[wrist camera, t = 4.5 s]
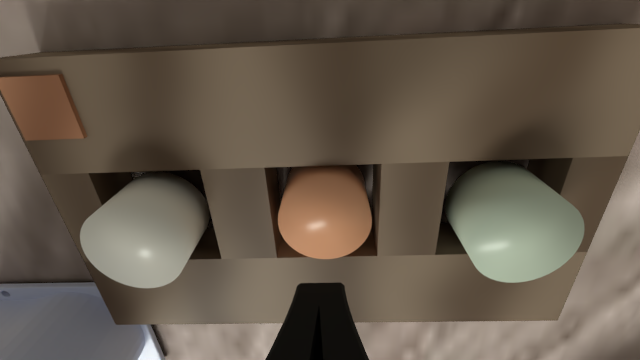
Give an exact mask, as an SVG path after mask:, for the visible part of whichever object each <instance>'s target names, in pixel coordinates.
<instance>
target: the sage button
mask: <svg viewBox="0 0 640 360" xmlns="http://www.w3.org/2000/svg"><path fill="white" fill-rule="evenodd" d="M445 213H446V217H447V219H448V221H449V223H450V224H451V226H452V228H453V229H454V231H455V233H456V235H457V236H458V238H459V240H460V242H461V243H462V245H463V247H464V248H465V250H466V252H467V254H468V255H469V257H470V259H471V261H472V262H473V264H474V266H475V267H476V269H477V270H478V271H479V272H480V273H482V274H483V275H484V276H486V277H488V278H490V279H493V280H496V281H500V282H507V283H517V282H525V281H530V280H534V279H537V278H540V277H543V276H545V275H548V274H550V273H551V272H553V271H555V270H557V269H558V268H560V267H561V266H562V265H564V264H565V263H566V262H567V261H568V260H569V259H570V258H571V257H572V256H573V255H574V254H575V252H576V251H577V249H578V248H579V246H580V244H581V242H582V239H583V236H584V221H583V218H582V216H581V214H580V212H579V211H578V210H577V209H576V208H575V207H574V206H573V205H572V204H571V203H569V202H568V201H567V200H566V199H564V198H563V197H562V196H560V195H559V194H558V193H557V192H555V191H554V190H553V189H551V188H550V187H549V186H548V185H546V184H545V183H544V182H543V181H541V180H540V179H539V178H537V177H536V176H535V175H534V174H532V173H531V172H530V171H528V170H527V169H526V168H524V167H523V166H521V165H519V164H517V163H514V162H509V161H492V162H487V163H484V164H480V165H478V166H476V167H474V168H472V169H470V170H468V171H467V172H465V173H464V174H463V175H461V176H460V177H459V178H458V179H457V180H456V181H455V182H454V184H453V185H452V187H451V188H450V190H449V192H448V194H447V197H446V201H445Z"/></svg>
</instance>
